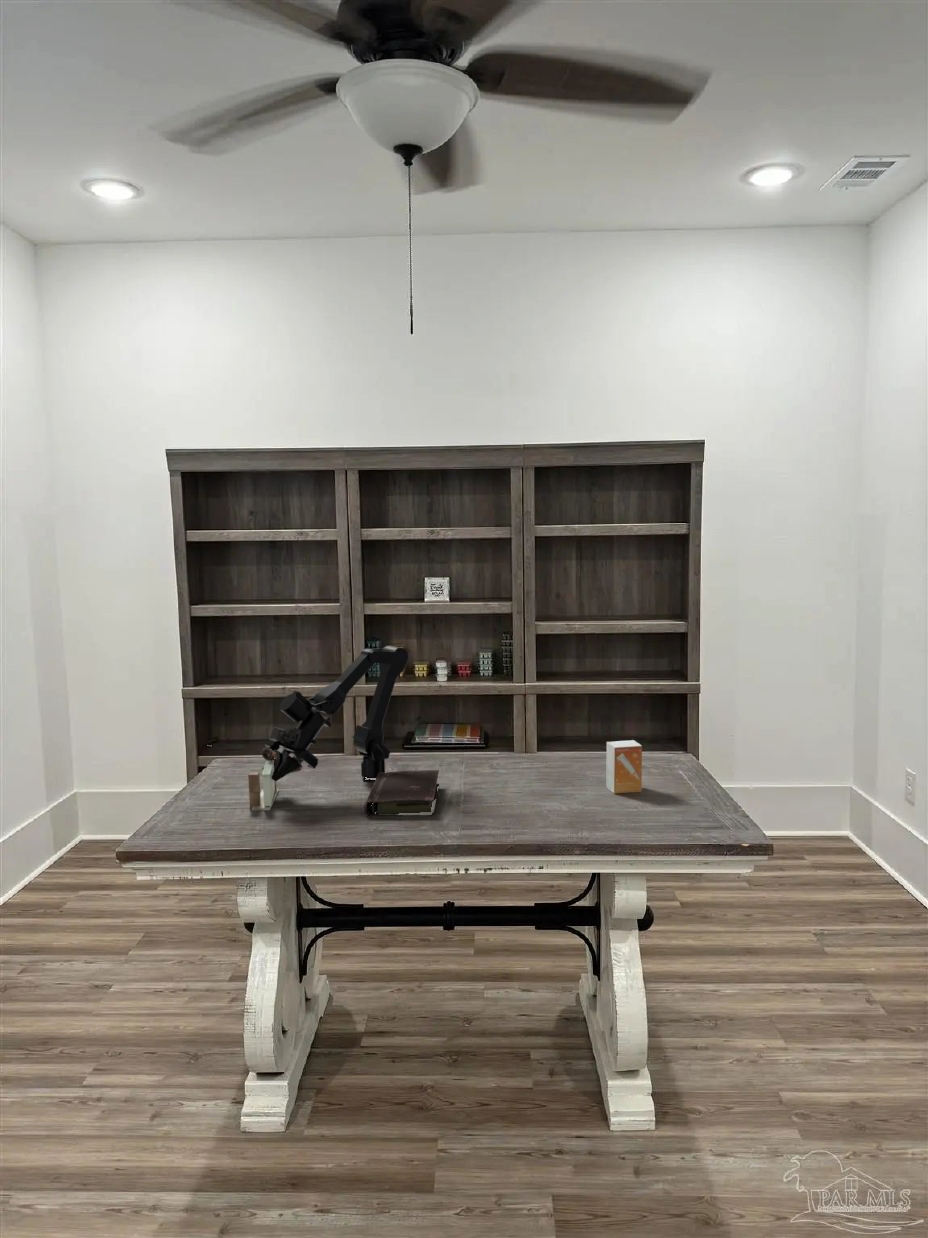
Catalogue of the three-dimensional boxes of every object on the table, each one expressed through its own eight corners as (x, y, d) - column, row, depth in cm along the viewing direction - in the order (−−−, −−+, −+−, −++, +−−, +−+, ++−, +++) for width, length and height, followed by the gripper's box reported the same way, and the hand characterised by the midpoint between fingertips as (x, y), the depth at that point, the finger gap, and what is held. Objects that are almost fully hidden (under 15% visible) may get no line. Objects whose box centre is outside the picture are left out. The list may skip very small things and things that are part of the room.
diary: (364, 819, 221) (363, 800, 221) (376, 788, 246) (375, 771, 246) (437, 817, 221) (436, 798, 220) (442, 787, 245) (441, 769, 245)
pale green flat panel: (267, 790, 240) (266, 760, 239) (275, 790, 240) (273, 760, 239) (263, 806, 227) (262, 774, 226) (271, 805, 228) (269, 774, 227)
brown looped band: (300, 762, 273) (304, 742, 269) (293, 783, 265) (297, 763, 261) (262, 753, 272) (265, 734, 268) (254, 774, 265) (257, 755, 260)
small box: (614, 794, 235) (614, 747, 233) (605, 787, 241) (605, 741, 239) (642, 792, 236) (642, 745, 235) (633, 785, 243) (633, 739, 241)
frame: (279, 790, 244) (278, 759, 242) (269, 810, 227) (268, 776, 226) (259, 791, 243) (258, 759, 242) (248, 811, 227) (246, 777, 226)
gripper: (269, 709, 240) (235, 757, 234) (306, 720, 227) (271, 771, 221) (295, 731, 247) (263, 778, 241) (333, 743, 233) (300, 793, 227)
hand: (273, 780), depth 232 cm, fingers closed
